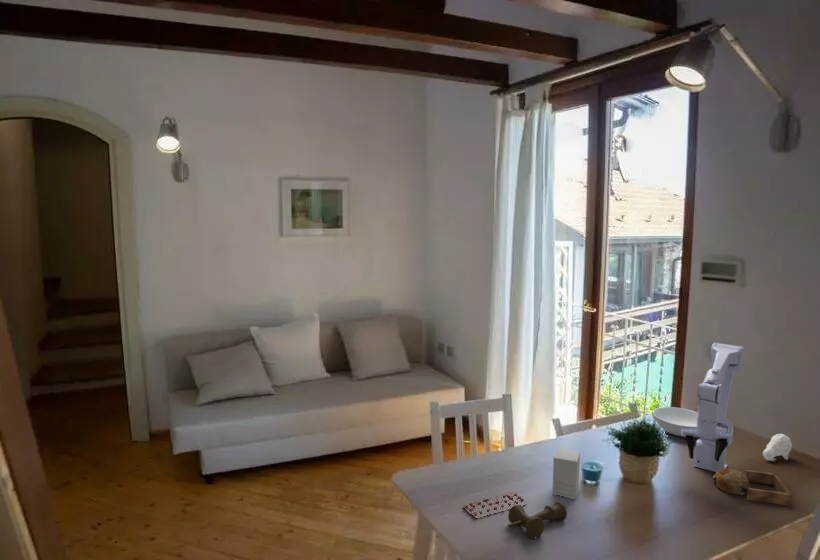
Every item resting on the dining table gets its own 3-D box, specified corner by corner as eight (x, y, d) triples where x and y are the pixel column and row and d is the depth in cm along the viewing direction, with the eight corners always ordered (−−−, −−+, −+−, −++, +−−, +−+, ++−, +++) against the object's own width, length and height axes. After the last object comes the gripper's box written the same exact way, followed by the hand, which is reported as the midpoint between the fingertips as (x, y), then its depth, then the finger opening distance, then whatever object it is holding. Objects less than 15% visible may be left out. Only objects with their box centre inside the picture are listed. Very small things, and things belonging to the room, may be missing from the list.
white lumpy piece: (794, 435, 203) (775, 445, 197) (793, 457, 204) (774, 467, 199) (776, 429, 208) (757, 438, 203) (775, 450, 210) (756, 460, 204)
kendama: (573, 527, 159) (518, 545, 150) (550, 512, 168) (496, 528, 158) (574, 507, 159) (519, 524, 149) (551, 493, 167) (497, 507, 158)
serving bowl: (659, 440, 219) (660, 423, 218) (646, 420, 239) (647, 405, 238) (716, 444, 215) (717, 427, 215) (697, 424, 236) (699, 408, 235)
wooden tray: (747, 499, 174) (748, 489, 174) (734, 478, 188) (735, 468, 188) (790, 505, 171) (791, 495, 171) (774, 483, 185) (775, 473, 185)
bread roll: (729, 506, 178) (742, 489, 174) (703, 480, 185) (715, 464, 181) (748, 498, 182) (761, 482, 178) (722, 474, 190) (734, 458, 186)
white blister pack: (527, 506, 171) (528, 500, 170) (475, 521, 162) (476, 514, 162) (513, 495, 177) (513, 489, 177) (462, 509, 168) (462, 503, 168)
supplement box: (579, 489, 180) (581, 452, 178) (575, 500, 173) (577, 461, 172) (555, 484, 183) (557, 448, 181) (551, 495, 176) (553, 457, 175)
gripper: (685, 421, 180) (682, 461, 182) (735, 426, 176) (731, 466, 178) (680, 413, 187) (677, 452, 188) (728, 418, 183) (725, 457, 185)
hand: (703, 458), depth 184 cm, fingers open, 7 cm apart
